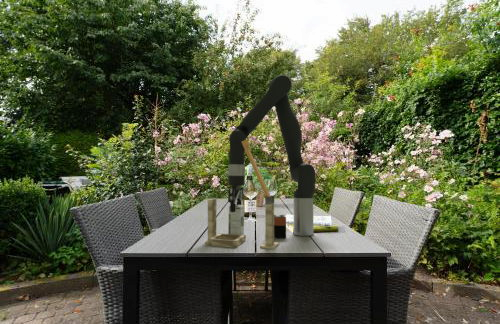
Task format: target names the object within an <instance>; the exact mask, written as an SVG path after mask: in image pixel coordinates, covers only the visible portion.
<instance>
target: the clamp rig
mask: <svg viewBox="0 0 500 324" xmlns="http://www.w3.org/2000/svg"><path fill="white" fill-rule="evenodd" d="M264 202H265V205H264V207H265V217H264V219H265V222H264V223H265V236H264V237H265V241H264V242H262V243H261V245H259V249H269V250H276V249H277V247H278V246H279V245H280V242H279V241H275V238H274V215H275V195H271V194H270V196H264ZM246 237H247V235H246V234H244V235H238V234H228V233H218V234H217V198H210V199H209V198H208V199H207V240H205V242H204V245H207V246H211V247H212V246H213V247H223V248H224V247H226V248H238V247H240V246H241V245H242V244H244V243H245V242H246V240H247V238H246Z"/></svg>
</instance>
